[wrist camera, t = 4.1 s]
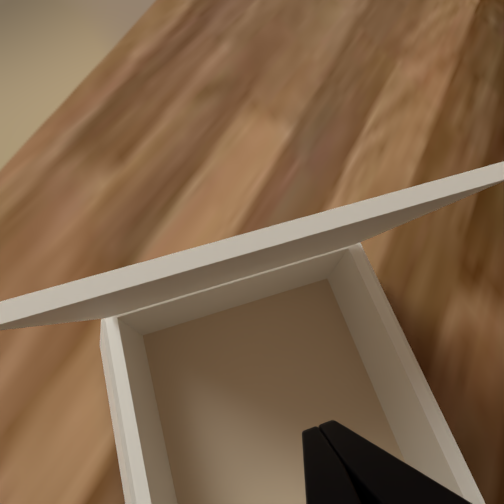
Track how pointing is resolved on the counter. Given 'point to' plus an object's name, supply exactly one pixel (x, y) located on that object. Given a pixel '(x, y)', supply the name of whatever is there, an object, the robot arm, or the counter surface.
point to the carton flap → (238, 255)
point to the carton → (267, 385)
